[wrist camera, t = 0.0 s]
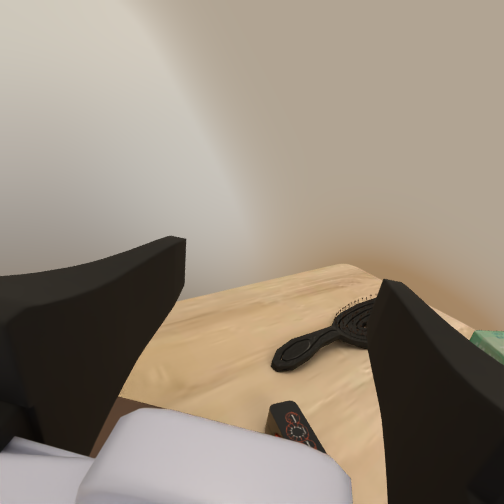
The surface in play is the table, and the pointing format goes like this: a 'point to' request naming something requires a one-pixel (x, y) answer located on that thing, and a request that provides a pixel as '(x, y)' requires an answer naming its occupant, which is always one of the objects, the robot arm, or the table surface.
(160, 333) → the table surface
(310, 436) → the wireless earbuds
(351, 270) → the table surface
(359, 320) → the hairbrush
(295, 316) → the table surface
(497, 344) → the box
